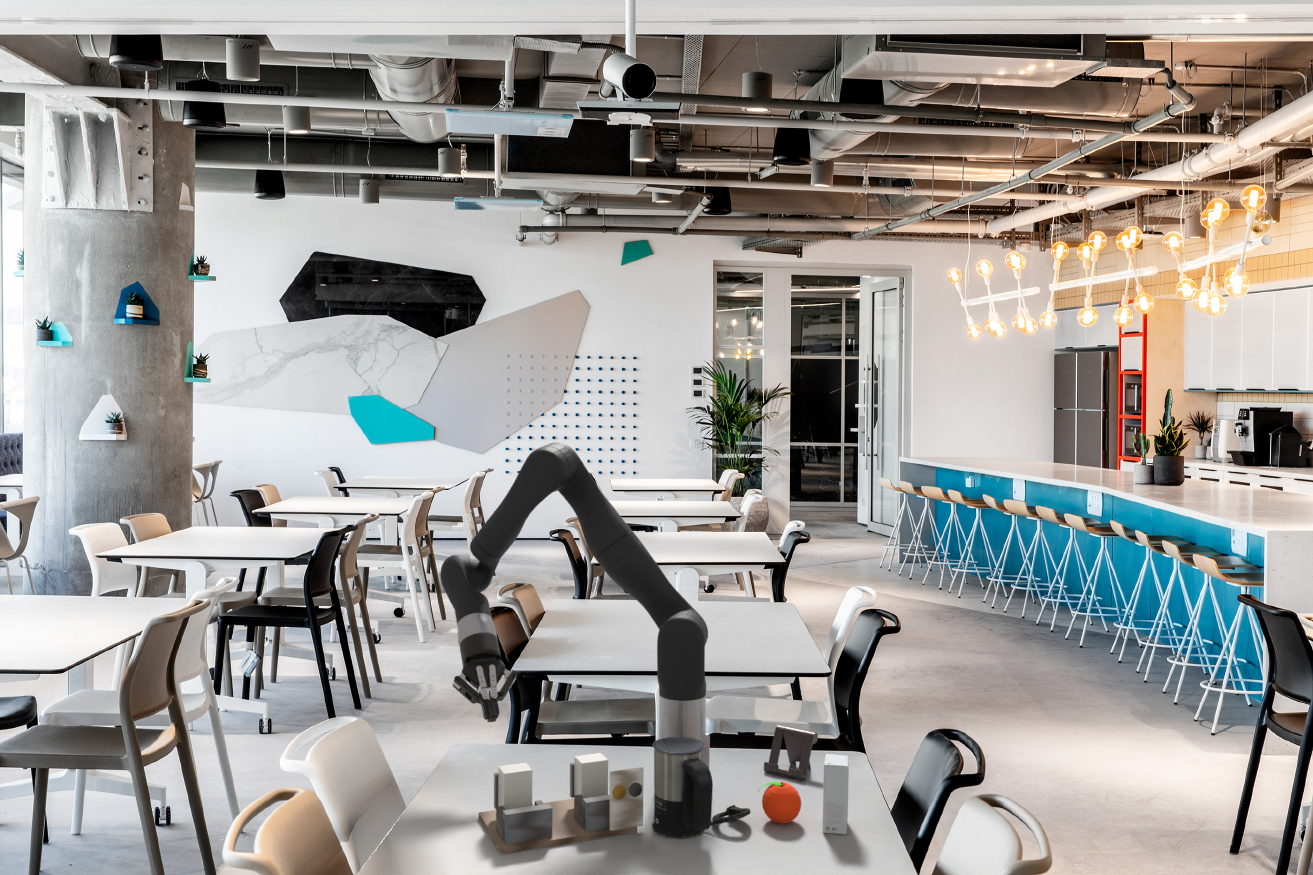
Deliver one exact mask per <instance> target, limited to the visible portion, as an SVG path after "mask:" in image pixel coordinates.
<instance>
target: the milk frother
mask: <svg viewBox="0 0 1313 875" xmlns="http://www.w3.org/2000/svg"><path fill="white" fill-rule="evenodd" d="M704 747H705V744H704V743H703V742H702V741H700V740H697V739H694V738H689V737H668V738H662V739H659V738H658V739H656V740H655V741H653V743H652V748H653V749H654V750H653V785H654V786H653V788H654V789H653V790H654V793H653V795H654V798H653V800H654V801H653V802H654V804H653V805H654V809H653V822H652V830H653V831H654V832H655V833H657V834H658V835H661V836H664V837H669V838H677V839H679V838H691V837H695V836H698V835H700V834H701V833H703V832H704V831H706V830H708V829H710V828H711V827H712V826H715V825H721V824H725V823H729V822H731V823H734V822H736V821H738V820H740V819H744V818H745V817H747V816H749V815H750V814H751V809H750V808H747V807H744V808H743V807H742V808H741V807H739V806H737V805H735V804H732V805H730V806H727V808H725V810H724V811H722V812H720V813H717V814H715V815H713V816H712V808H713V789H714V788H713V786H714V783H713V776H712V773H711V770H710V767H709V768H708V766H707V765H706V764H705V763H704V762H703V749H704Z"/></svg>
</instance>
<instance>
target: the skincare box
mask: <svg viewBox="0 0 1313 875" xmlns="http://www.w3.org/2000/svg"><path fill="white" fill-rule="evenodd" d="M849 763H850V762H849V755H844V754H843V755H842V754H841V755H840V754H832V753H831V754H830V753H826V754H825V755H824V762H823V764H824V765H823V794H822V795H823V797H822V798H823V804H822V805H823V806H822V833H826V834H836V835H845V836H846V835H847V834H848V816H849V775H850V774H849V772H850V771H849V770H850V769H849Z"/></svg>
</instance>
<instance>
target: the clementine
mask: <svg viewBox="0 0 1313 875" xmlns="http://www.w3.org/2000/svg"><path fill="white" fill-rule="evenodd" d="M765 786H768V787H767V788H765V790H764V793H763V795H762V797H761V799H762V800H761V804H762V809H763V811H764V814H765V816H767V818H768V819H769V820H771V821H772V822H774V823H777V824H789V823H790V822H792V821H794V820H795V819H796V818H797V817H798V815H799V813H800V812H801V808H802V798H801V795H800V794H799V791H798V790H797V788H796V787H794V786H793V785H792V784H790V783H788V782H785V781H771V782H766V783H765V784H762V787H765ZM759 791H760V789H758V791H757V792H759Z"/></svg>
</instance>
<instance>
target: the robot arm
mask: <svg viewBox="0 0 1313 875" xmlns="http://www.w3.org/2000/svg"><path fill="white" fill-rule="evenodd" d="M555 492H558V493H559V494H560V495H561V496H562V497H563V498H564V499H565V501H566V502H567V503H568V504H569V506H570V508H571V509H572V510H573V512H574V513H575V515H576V517H577V519H578V523H579V524H580V525H579V526H580V529H581V532H582V535H583V538H584V540H585V543H586V545H587V548H588V550H589V551H590V554H591V555H592V556H593V557H594V559H595V561H596V562H597V563H598V565H599V566H600V567H601V569H603V571H604V572H605V573H606V574H607V576H608V577H609V578H610V579H611V580H612V581H613V582H614V583H615V584H616V585H617V586H619V587H620V588H621V589H622V590H624V591H625V592H626V593H627V594H629V595H630V596H631V597H632V598H633V599H635V600H636V601H637V602H638V603H639V604H640V605H641V606H642V607H643V608H644V610H645V611H646V612H647V613H648V615H649V617H650V618H651V619H652V621H653V622H654V623H655V625H656V627H657V628H658V632H657V643H656V644H657V645H656V659H657V660H656V662H657V663H656V664H657V665H656V668H657V671H656V673H657V684H658V740H659V739H662V738H668V737H689V738H694V739H697V740H700V741H702V742H703V743H704V744H705V747H704V749H703V762H704V763H705V764H706V765H707V766H708V768H709V769H710V751H711V750H710V746H711V745H710V743H711V742H710V741H711V740H710V739H711V738H710V737H711V736H710V734H709V733H708V732H706V731H707V729H706V727H707V726H706V724H707V723H706V722H707V721H706V720H707V681H706V675H705V673H706V672H705V666H706V665H705V660H706V659H705V657H706V655H705V654H706V653H705V652H706V645H707V643H708V642H707V641H708V638H709V629H708V626H707V624H706V620H704V618H703V617H702V616H701V614H699V612H698V611H697V610H696V609H695V608H694V607H693V606H692V605H691V604H690V603H689V602H688V601H687V600H686V599H685V598H684V597H683V596H682V594H681V593H680V592H679V591H677V589H676V588H675V587H674V586H673V584H672V583H671V582H670V580H668V578H667V576H666V575H665V573H663V570H662V569H661V568H660V566H659V565H658V563H657V561H655V559H654V557H653V556H652V555H651V553H650V552H649V551H648V549H647V548H646V546H645V545H644V544H643V542H641V540H640V539H639V538H638V536H637V535H636V533H635V532H634V531H633V529H632V528H631V527H630V525H628V523H626V521H625V520H624V519H623V517H622V516H621V515H620V514H619V512H618V511H617V510H616V508H615V507H614V505H612V503H611V502H610V501H609V499H608V498H607V497H606V496H605V495H604V493H603V492H602V491H601V489H600V488H599V486H598V485H597V483H596V481H595V480H594V478H593V476H592V475H591V473H590V471H589V470H588V469H587V467H586V466H585V464H584V463H583V461H582V459H581V458H580V456H579V455H578V453H577V452H576V451H575V450H574V449H573V448H572V447H571V446H569V445H568V444H566V443H564V442H558V441H557V442H556V441H555V442H550V443H548V444H545V445H543V446H541V447H539V448H536V449H534V450H533V451H531V452H530V453H529V455H528V456H527V457H526V459H525V461H524V462H523V464H522V466H521V468H520V470H519V472H518V474H517V476H516V477H515V480H514V482H513V484H512V485H511V487H510V489H508V492H507V493H506V495H505V496H504V498H503V499H502V501H501V502H500V504H499V505H498V506H497V508H495V510H494V511H493V513H492V514H491V515H490V517H489V518H488V519H487V520H486V522H484V524H483V525H482V526H481V527H480V529H479V530H478V532H476V534H475V536H473V538H472V540H471V542H470V544H469V550H470V552H471V554H472V556H473V557H474V558H471V557H467V556H463V555H459V554H458V555H457V554H453V555H449V556H448V557H446V559H445V560H444V561H443V563H442V564H441V567H440V572H439V573H440V574H439V576H440V581H441V582H440V583H441V585H442V588H443V590H444V592H445V595H446V596H447V598H448V600H449V602H450V604H451V605H452V608H453V610H454V615H455V620H456V626H457V642H458V647H459V651H460V658H461V663H462V670H461V674H459V675H456V676H454V679H453V681H452V687H453V689H455V690H456V691H457V692H458V693H460V694H461V695H462V696H463V697H464V698H465V699H467V700H468V701H469V703H471V704H478V705H480V706H481V711H482V717H483V719H484V720H485V721H487V723H494V722H495V723H496V721H497V719H498V718H499V715H500V707H499V701H500V702H503V701H504V699H505V698H506V696H507V695H508V693H509V691H510V690H511V688H512V686H513V685H514V684H515V681H516V679H517V677H518V672H517V671H516V670H512V671H510V670H508V669H507V668H506V665H505V663H504V662H503V661H502V656H501V651H500V646H499V641H498V637H497V631H496V627H495V623H494V621H493V618H492V617H493V616H492V612H491V607H490V603H489V599H488V597H487V596H486V595H485V594H483V592H484V591H485V590H486V589H488V587H489V586H490V585H491V582H492V580H493V577H494V574H495V572H496V570H497V567H498V565H499V562H500V560H501V558H502V557H503V556H504V555H505V554H506V552H507V551H508V550H509V549H510V547H511V546H512V545H513V544H514V542H515V541H516V540H517V538H518V537H519V535H520V533H521V531H522V529H523V528H524V525H525V523H526V521H527V520H528V518H529V516H530V514H532V512H533V511H534V510H535V509H536V507H538V505H540V504H541V502H543V501H544V500H546V499H547V497H549V496H550V495H551V494H552V493H555ZM475 558H476V559H475ZM502 677H503V681H504V683H503V686H501V688H500V690H499V691H498V689H497V686H498V684H500V681H501V679H502Z"/></svg>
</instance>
